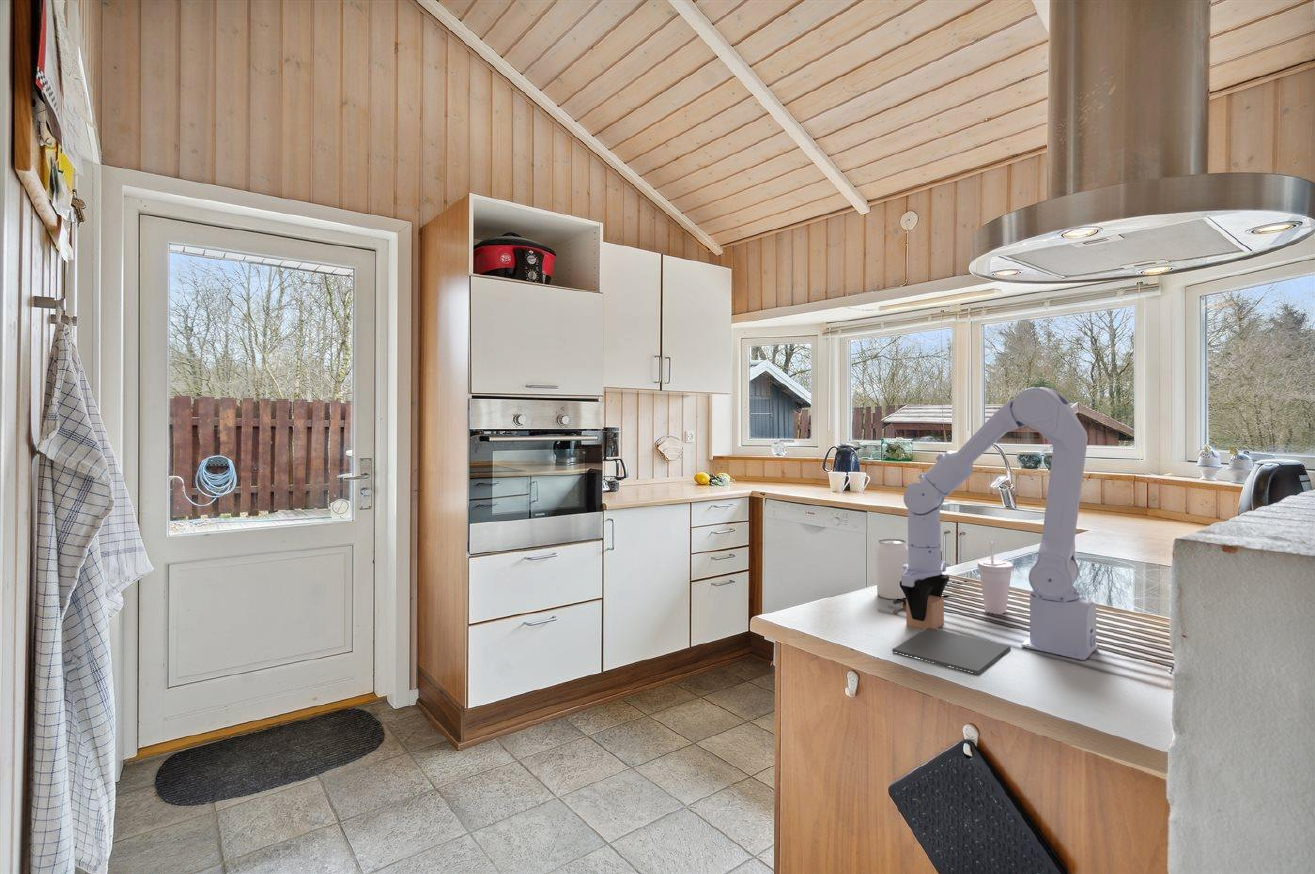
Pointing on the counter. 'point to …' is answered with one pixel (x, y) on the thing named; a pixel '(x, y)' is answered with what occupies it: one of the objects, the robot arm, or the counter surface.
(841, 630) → the counter surface
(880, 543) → the can
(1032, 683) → the counter surface
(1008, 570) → the smoothie
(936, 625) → the cube
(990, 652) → the mat
